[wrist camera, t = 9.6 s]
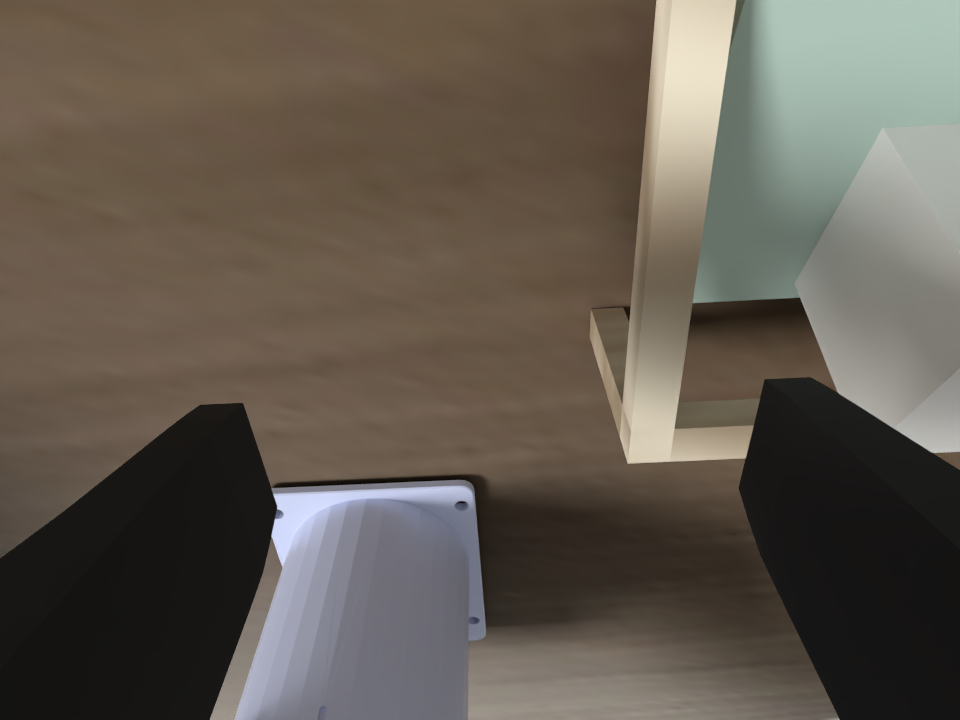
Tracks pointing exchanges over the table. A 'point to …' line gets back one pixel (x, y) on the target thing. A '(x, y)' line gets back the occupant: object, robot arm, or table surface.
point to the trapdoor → (812, 125)
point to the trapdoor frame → (672, 251)
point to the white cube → (895, 285)
